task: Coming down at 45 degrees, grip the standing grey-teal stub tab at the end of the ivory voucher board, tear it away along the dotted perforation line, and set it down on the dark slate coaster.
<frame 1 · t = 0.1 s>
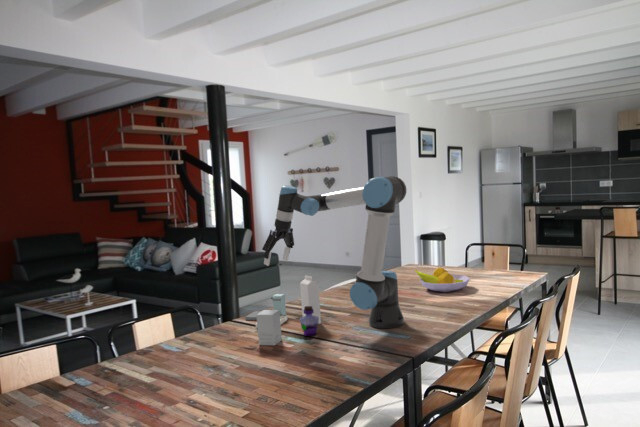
hand: (276, 262, 224), 28 cm above the table, tool tilted 20°, fingers open, 13 cm apart
fruit bowl: (443, 289, 265), on the table
coaster: (259, 317, 235), on the table
stub: (280, 317, 231), on the table
supplement box: (270, 343, 195), on the table
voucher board: (272, 323, 222), on the table
potion bottle: (310, 334, 201), on the table
milk: (312, 324, 217), on the table
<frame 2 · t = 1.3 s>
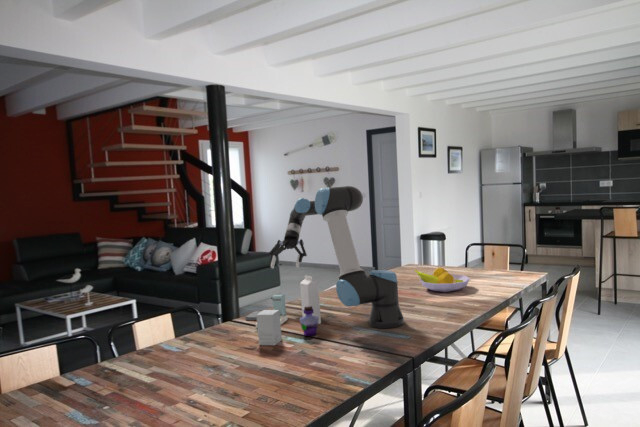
hand: (284, 267, 241), 22 cm above the table, tool tilted 45°, fingers open, 13 cm apart
nothing on the table moved.
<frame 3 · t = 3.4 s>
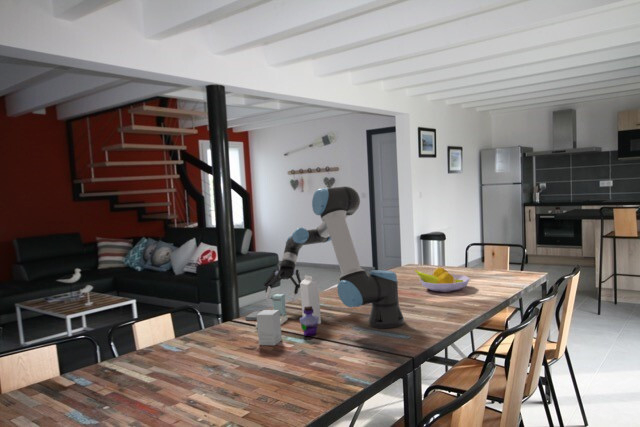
hand: (279, 299, 234), 8 cm above the table, tool tilted 45°, fingers open, 13 cm apart
nothing on the table moved.
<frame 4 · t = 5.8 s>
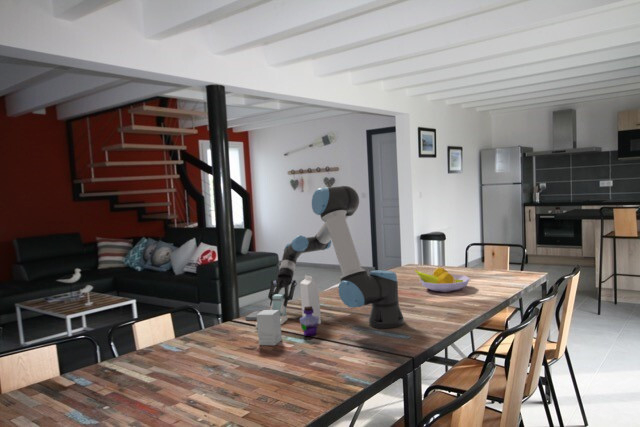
hand: (276, 311, 227), 4 cm above the table, tool tilted 45°, fingers closed on stub, 4 cm apart
stub: (280, 317, 231), on the table, touching gripper
everything else where it was.
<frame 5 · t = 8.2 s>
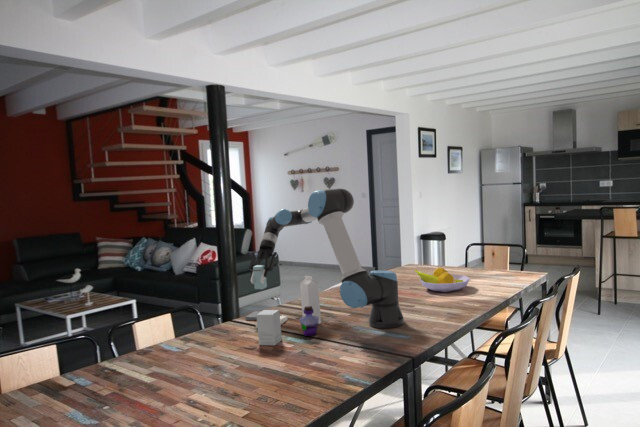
hand: (256, 282, 231), 18 cm above the table, tool tilted 45°, fingers closed on stub, 4 cm apart
stub: (260, 288, 235), point 14 cm above the table, touching gripper
everything else where it was.
when the fingers open (7 cm above the table, at t = 11.0 s): stub drops 1 cm, resting on coaster.
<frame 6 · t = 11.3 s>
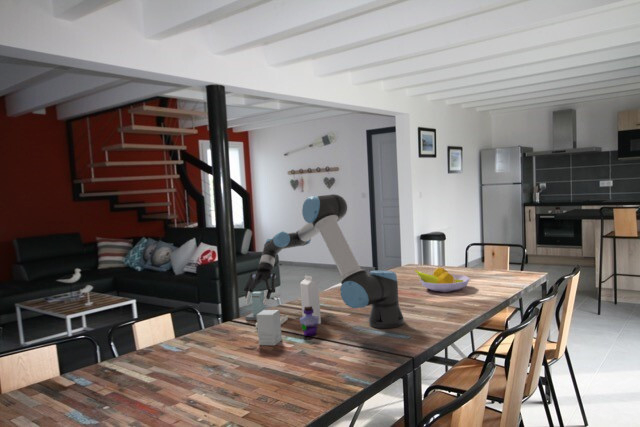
hand: (255, 304, 231), 7 cm above the table, tool tilted 45°, fingers open, 9 cm apart
stub: (259, 314, 235), point 1 cm above the table, touching coaster
everything else where it was.
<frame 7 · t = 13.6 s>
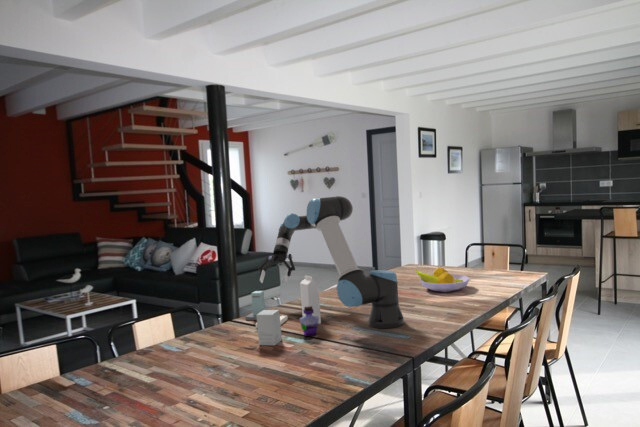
hand: (273, 281, 244), 15 cm above the table, tool tilted 45°, fingers open, 13 cm apart
nothing on the table moved.
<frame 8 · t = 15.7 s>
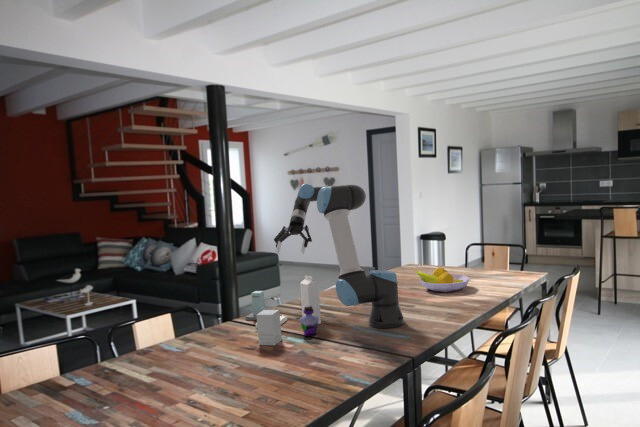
hand: (289, 252, 241), 30 cm above the table, tool tilted 45°, fingers open, 13 cm apart
nothing on the table moved.
at the end: stub inside the target area on the coaster (0.1 cm from its centre), point 1.5 cm above the coaster's base; stub tilted 0°; the gripper is holding nothing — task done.
